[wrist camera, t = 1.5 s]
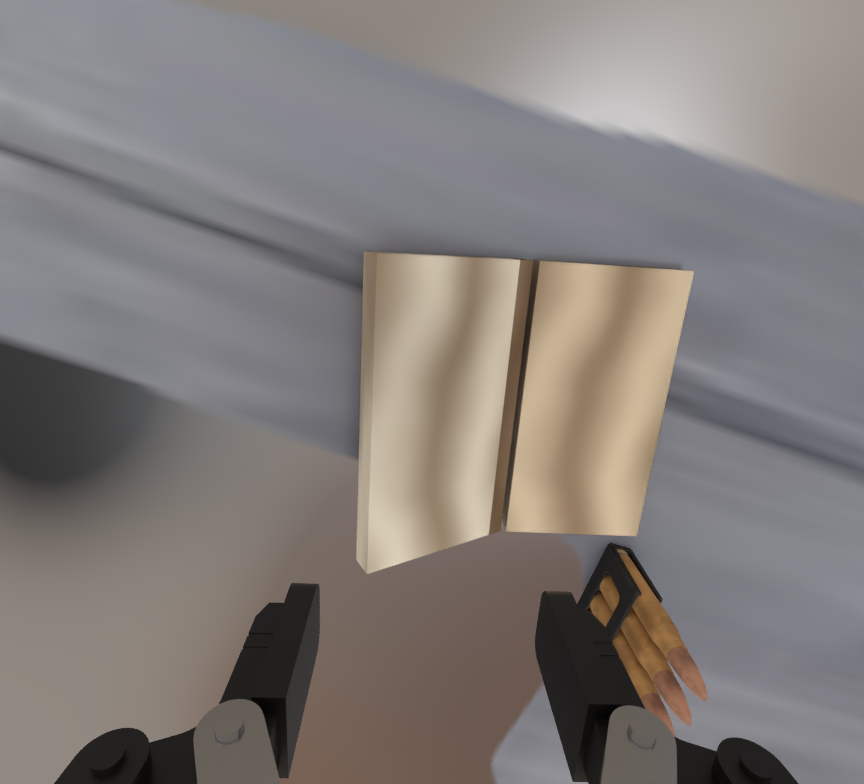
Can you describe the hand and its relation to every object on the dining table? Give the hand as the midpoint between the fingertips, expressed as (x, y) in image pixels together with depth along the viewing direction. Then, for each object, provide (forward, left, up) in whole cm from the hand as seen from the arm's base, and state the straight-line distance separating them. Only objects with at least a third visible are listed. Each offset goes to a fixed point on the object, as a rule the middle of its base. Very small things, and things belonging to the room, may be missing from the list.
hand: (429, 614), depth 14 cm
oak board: (-11, 0, -20) cm, 22 cm away
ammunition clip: (-14, +16, -20) cm, 29 cm away
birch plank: (-1, 0, -17) cm, 17 cm away
